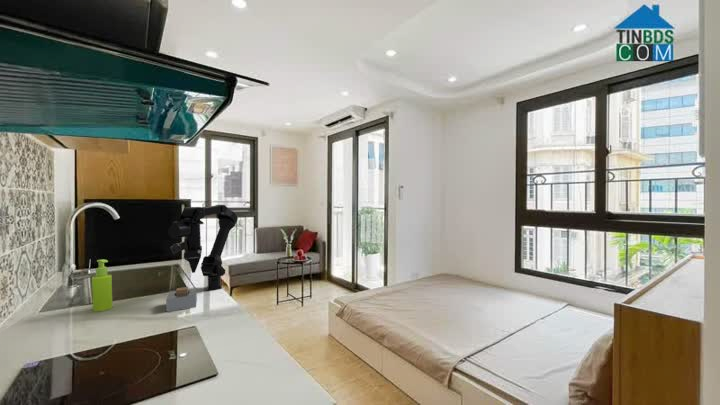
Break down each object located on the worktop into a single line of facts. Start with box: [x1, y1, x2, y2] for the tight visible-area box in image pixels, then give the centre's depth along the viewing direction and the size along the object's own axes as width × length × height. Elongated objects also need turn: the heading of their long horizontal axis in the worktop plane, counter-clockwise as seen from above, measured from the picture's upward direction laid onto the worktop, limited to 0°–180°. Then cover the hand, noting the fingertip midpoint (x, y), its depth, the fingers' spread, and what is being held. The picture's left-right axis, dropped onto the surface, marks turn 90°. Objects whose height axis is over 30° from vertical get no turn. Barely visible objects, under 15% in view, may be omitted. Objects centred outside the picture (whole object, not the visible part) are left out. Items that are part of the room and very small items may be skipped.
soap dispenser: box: [91, 258, 113, 313], centre depth 117 cm, size 6×7×20 cm
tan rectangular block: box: [175, 286, 189, 296], centre depth 120 cm, size 3×4×7 cm
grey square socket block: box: [165, 287, 198, 312], centre depth 120 cm, size 10×10×5 cm
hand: (194, 270), depth 130 cm, fingers open, 9 cm apart
